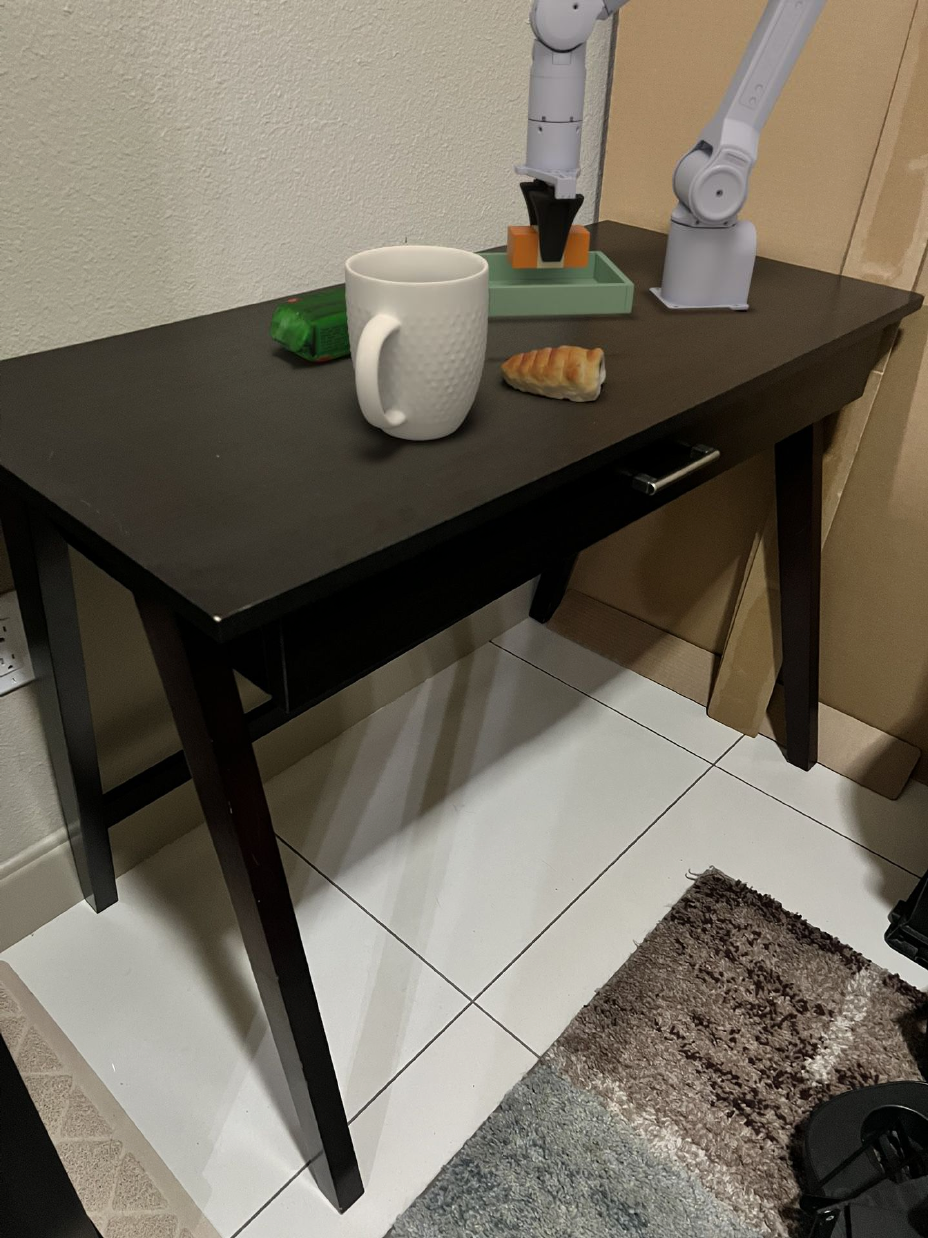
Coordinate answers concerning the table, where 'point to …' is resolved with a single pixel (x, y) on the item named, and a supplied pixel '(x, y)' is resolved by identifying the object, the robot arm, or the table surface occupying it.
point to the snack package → (313, 325)
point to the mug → (417, 336)
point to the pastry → (558, 372)
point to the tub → (557, 288)
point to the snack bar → (527, 250)
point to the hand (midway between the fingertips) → (546, 255)
